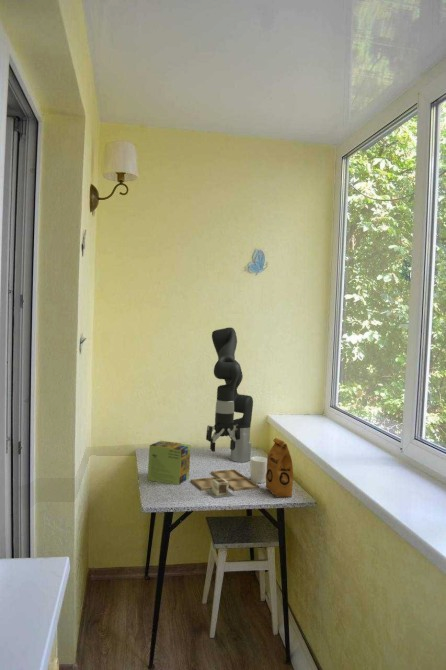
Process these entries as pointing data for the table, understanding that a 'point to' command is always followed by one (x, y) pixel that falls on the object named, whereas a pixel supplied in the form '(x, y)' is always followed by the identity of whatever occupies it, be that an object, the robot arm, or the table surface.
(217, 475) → the tray
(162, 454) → the protein box
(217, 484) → the letter cube
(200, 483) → the tray
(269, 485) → the coffee package
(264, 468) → the white cup
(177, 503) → the table surface
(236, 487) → the tray
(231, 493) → the slate tile
